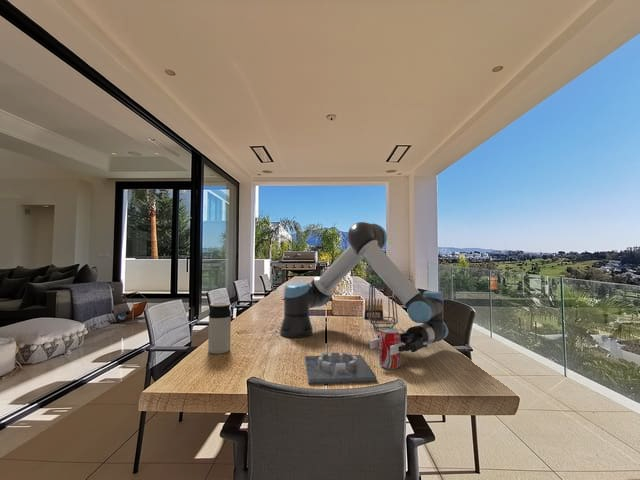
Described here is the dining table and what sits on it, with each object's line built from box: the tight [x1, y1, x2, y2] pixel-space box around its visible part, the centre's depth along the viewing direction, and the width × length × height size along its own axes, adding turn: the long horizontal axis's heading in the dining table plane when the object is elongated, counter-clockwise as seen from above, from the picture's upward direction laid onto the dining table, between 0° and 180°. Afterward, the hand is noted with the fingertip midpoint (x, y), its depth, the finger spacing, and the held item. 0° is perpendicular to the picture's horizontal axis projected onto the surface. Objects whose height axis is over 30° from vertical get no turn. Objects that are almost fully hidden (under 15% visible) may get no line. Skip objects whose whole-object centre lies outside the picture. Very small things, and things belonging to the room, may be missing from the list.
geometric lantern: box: [363, 265, 399, 332], centre depth 158 cm, size 16×16×35 cm
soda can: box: [378, 327, 402, 370], centre depth 106 cm, size 7×7×12 cm
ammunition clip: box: [363, 297, 384, 320], centre depth 182 cm, size 11×2×12 cm, turn 92°
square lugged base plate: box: [304, 351, 377, 385], centre depth 102 cm, size 20×20×4 cm
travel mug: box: [207, 301, 232, 355], centre depth 121 cm, size 8×8×18 cm
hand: (380, 347), depth 103 cm, fingers open, 8 cm apart
